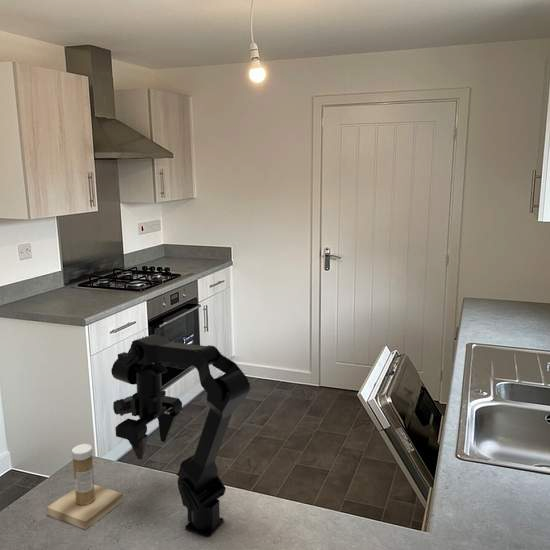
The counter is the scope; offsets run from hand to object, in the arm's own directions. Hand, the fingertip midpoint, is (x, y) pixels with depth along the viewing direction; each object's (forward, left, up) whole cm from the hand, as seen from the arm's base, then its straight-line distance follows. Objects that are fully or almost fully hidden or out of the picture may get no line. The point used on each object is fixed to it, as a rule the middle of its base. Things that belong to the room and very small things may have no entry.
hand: (152, 450), depth 130 cm
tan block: (+12, +10, -13) cm, 21 cm away
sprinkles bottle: (+12, +10, -11) cm, 19 cm away
